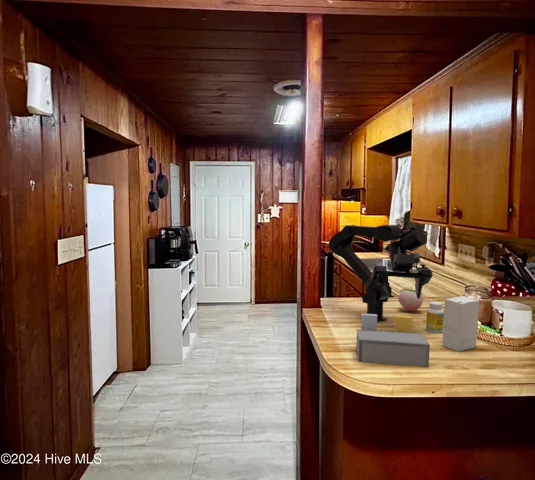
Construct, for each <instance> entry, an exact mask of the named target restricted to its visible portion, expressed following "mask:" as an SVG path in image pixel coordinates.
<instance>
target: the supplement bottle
mask: <svg viewBox="0 0 535 480" xmlns="http://www.w3.org/2000/svg"><path fill="white" fill-rule="evenodd" d="M428 303H429V304H428V306H429V307H428V308H426V321H425V325H426V326H425V328H426V329H425V330H426V331H428V332H430V333H434V334H435V333H437V334H439V333H443V324H444V309H443V303H442V302H440V301H430V302H428Z"/></svg>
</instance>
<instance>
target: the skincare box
mask: <svg viewBox="0 0 535 480" xmlns="http://www.w3.org/2000/svg"><path fill="white" fill-rule="evenodd" d="M479 307H480V300H479V299H475V298H471V297H468V296H465V295H461V296H456V297H450V298H445V299H444V309H443V311H444V321H443V331H442V342H441V345H442V346H444V347H446V348H449V350H453V351H454V352H455V351H456V352H461V351H465V350H469V349H470V350H471V349H475V348H476V347H477V340H478V339H477V337H478V325H479V324H478V323H479V321H478V320H479V309H480V308H479Z"/></svg>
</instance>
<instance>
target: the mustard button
mask: <svg viewBox="0 0 535 480" xmlns="http://www.w3.org/2000/svg"><path fill="white" fill-rule="evenodd" d="M412 319H413V317H412V316H411V315H395V318H394V332H407V333H412V323H413V322H412V321H413V320H412Z"/></svg>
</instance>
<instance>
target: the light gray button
mask: <svg viewBox="0 0 535 480" xmlns="http://www.w3.org/2000/svg"><path fill="white" fill-rule="evenodd" d="M360 321H361V323H360V330H374V331H378V321H377V314H367V313H361V320H360Z"/></svg>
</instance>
